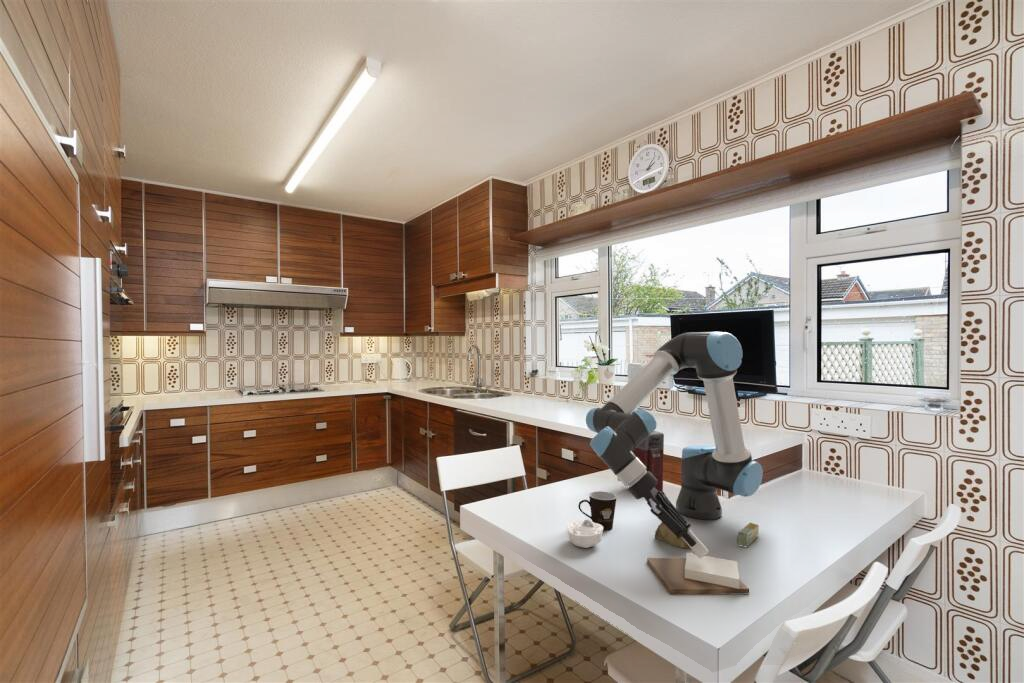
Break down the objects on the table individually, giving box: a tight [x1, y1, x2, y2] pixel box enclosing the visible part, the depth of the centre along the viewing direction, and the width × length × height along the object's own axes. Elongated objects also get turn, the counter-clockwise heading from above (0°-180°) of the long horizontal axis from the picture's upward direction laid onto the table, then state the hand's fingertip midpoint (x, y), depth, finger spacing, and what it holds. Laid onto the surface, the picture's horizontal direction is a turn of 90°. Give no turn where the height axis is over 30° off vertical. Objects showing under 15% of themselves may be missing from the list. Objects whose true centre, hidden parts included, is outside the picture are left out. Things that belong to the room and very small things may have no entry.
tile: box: [685, 552, 740, 589], centre depth 117 cm, size 2×10×12 cm
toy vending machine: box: [632, 430, 665, 492], centre depth 190 cm, size 9×11×28 cm
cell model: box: [567, 518, 604, 549], centre depth 136 cm, size 10×12×7 cm
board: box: [646, 557, 750, 595], centre depth 118 cm, size 19×16×1 cm
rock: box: [654, 521, 691, 549], centre depth 140 cm, size 11×9×10 cm
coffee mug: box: [577, 490, 618, 532], centre depth 150 cm, size 12×9×10 cm
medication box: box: [736, 522, 760, 547], centre depth 142 cm, size 12×3×4 cm, turn 137°
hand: (704, 554), depth 118 cm, fingers closed
